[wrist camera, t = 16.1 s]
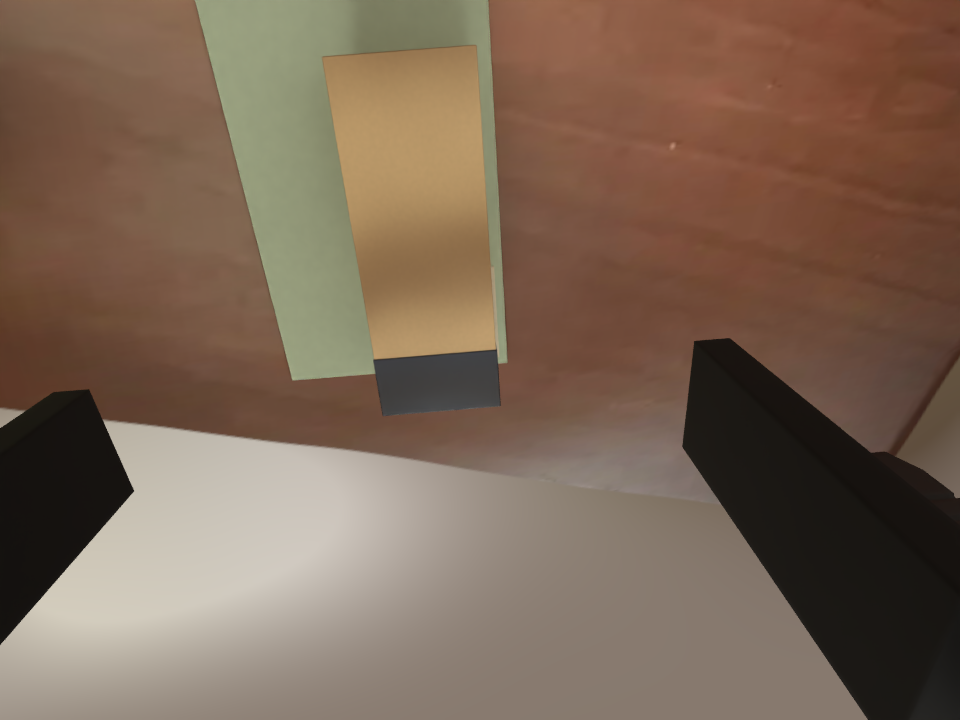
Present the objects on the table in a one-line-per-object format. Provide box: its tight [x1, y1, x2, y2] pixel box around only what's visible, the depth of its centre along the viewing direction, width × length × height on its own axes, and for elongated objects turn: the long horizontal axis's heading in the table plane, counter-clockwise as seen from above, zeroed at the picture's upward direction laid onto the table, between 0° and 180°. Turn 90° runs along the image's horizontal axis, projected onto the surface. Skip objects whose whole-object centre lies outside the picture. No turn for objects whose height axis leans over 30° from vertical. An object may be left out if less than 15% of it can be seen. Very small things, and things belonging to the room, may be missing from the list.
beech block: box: [322, 45, 501, 416], centre depth 27 cm, size 16×6×7 cm, turn 4°
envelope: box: [195, 0, 507, 380], centre depth 29 cm, size 24×14×1 cm, turn 4°
